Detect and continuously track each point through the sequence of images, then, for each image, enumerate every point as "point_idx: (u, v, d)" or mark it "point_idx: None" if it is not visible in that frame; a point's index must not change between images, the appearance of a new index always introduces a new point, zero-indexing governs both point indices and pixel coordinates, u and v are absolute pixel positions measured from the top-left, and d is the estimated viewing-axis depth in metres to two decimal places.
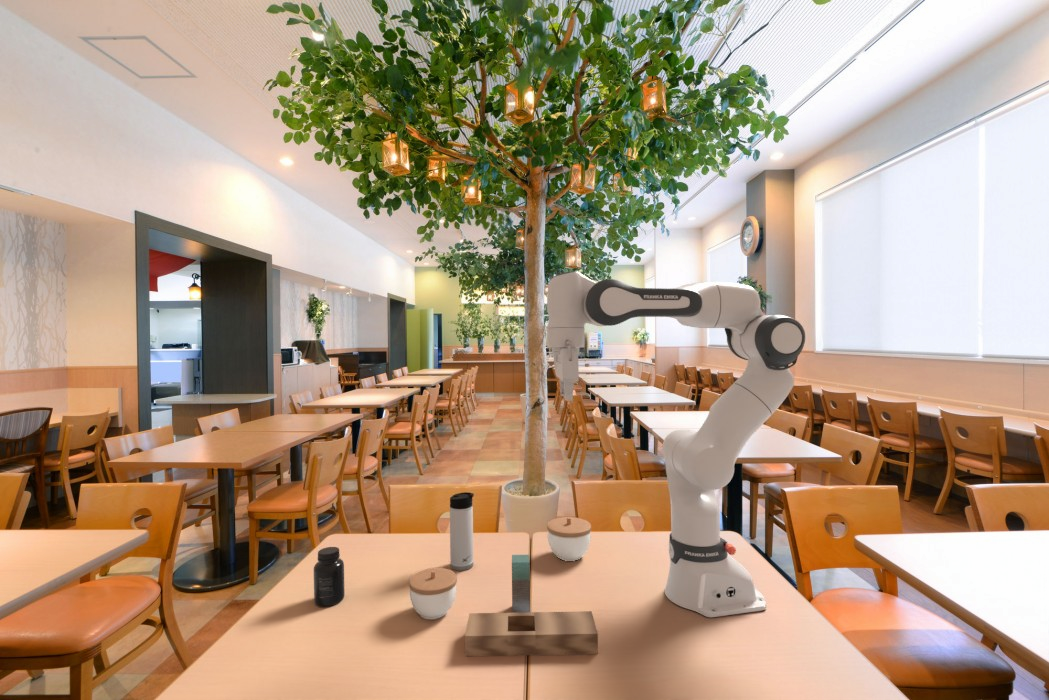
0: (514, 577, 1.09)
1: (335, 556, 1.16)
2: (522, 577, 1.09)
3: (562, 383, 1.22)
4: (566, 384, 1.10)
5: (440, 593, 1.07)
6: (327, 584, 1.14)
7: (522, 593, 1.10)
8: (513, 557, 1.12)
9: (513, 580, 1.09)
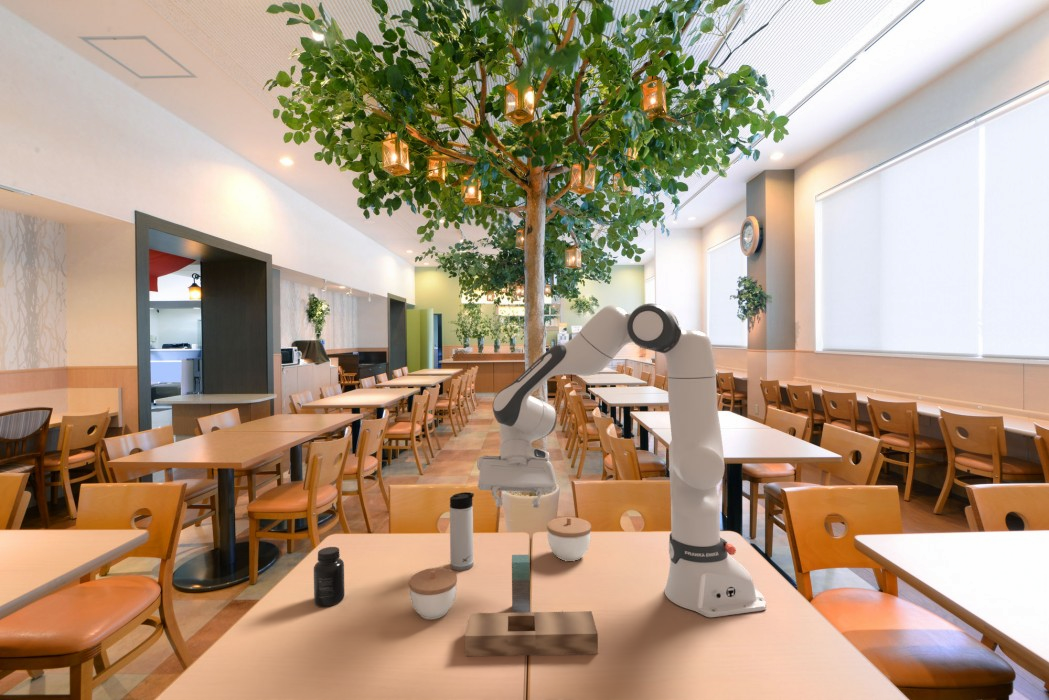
0: (514, 577, 1.09)
1: (335, 556, 1.16)
2: (522, 577, 1.09)
3: (538, 496, 1.25)
4: (491, 491, 1.24)
5: (440, 593, 1.07)
6: (327, 584, 1.14)
7: (522, 593, 1.10)
8: (513, 557, 1.12)
9: (513, 580, 1.09)
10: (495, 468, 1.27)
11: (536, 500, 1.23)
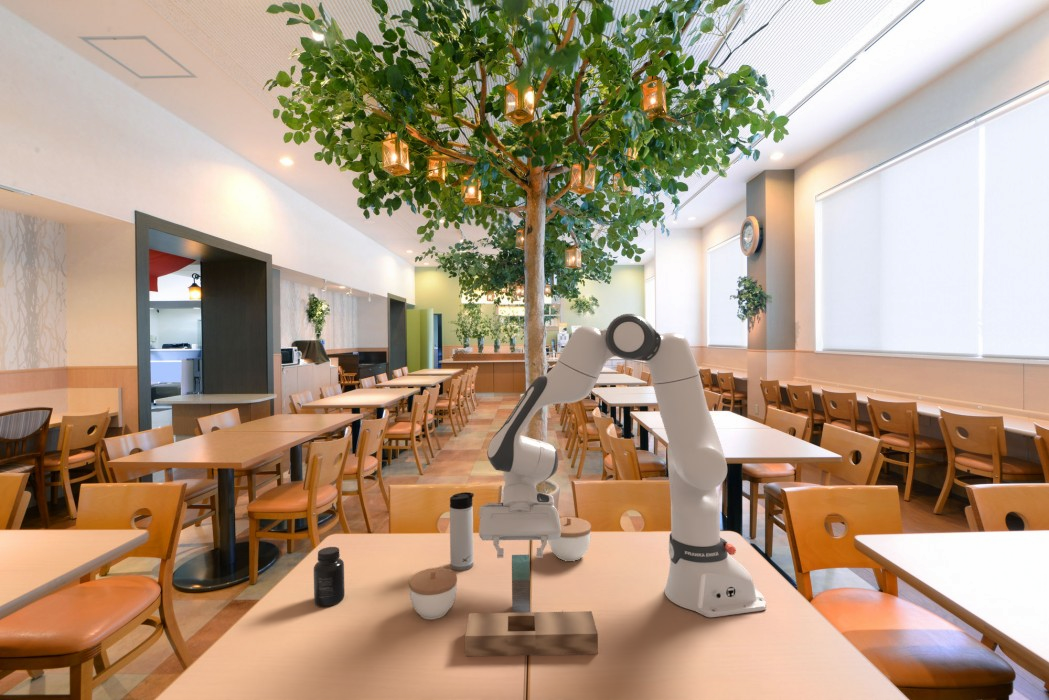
0: (514, 577, 1.09)
1: (335, 556, 1.16)
2: (522, 577, 1.09)
3: None
4: (493, 542, 1.19)
5: (440, 593, 1.07)
6: (327, 584, 1.14)
7: (522, 593, 1.10)
8: (513, 557, 1.12)
9: (513, 580, 1.09)
10: (496, 516, 1.21)
11: (539, 549, 1.16)
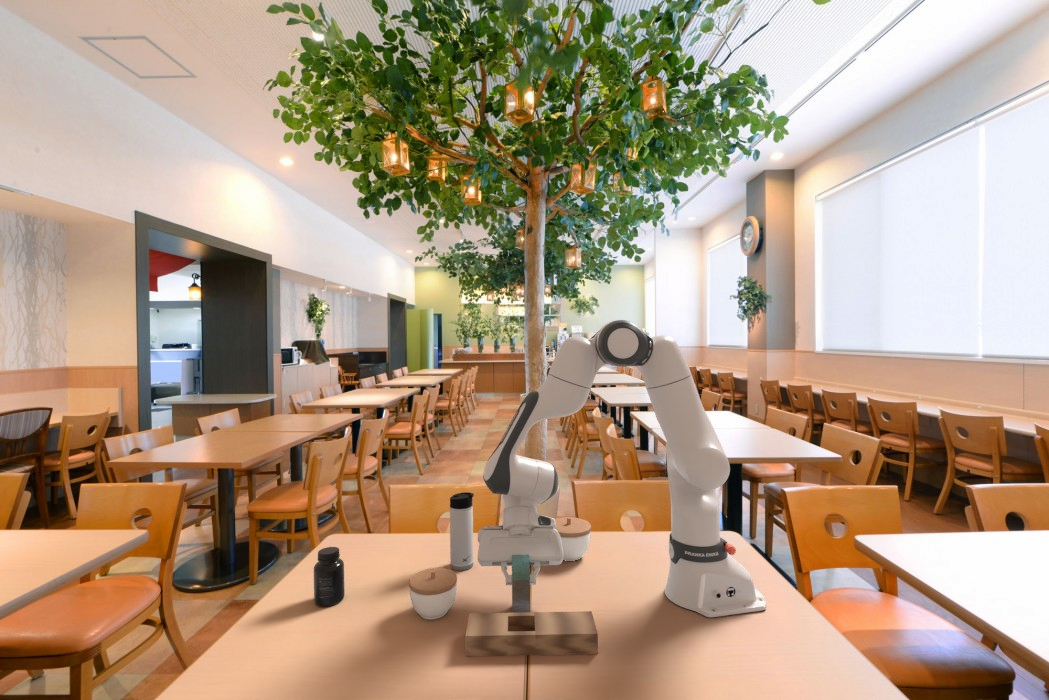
0: (514, 577, 1.09)
1: (335, 556, 1.16)
2: (522, 577, 1.09)
3: None
4: None
5: (440, 593, 1.07)
6: (327, 584, 1.14)
7: (522, 593, 1.10)
8: (513, 557, 1.12)
9: (513, 580, 1.09)
10: (496, 540, 1.16)
11: (532, 576, 1.11)
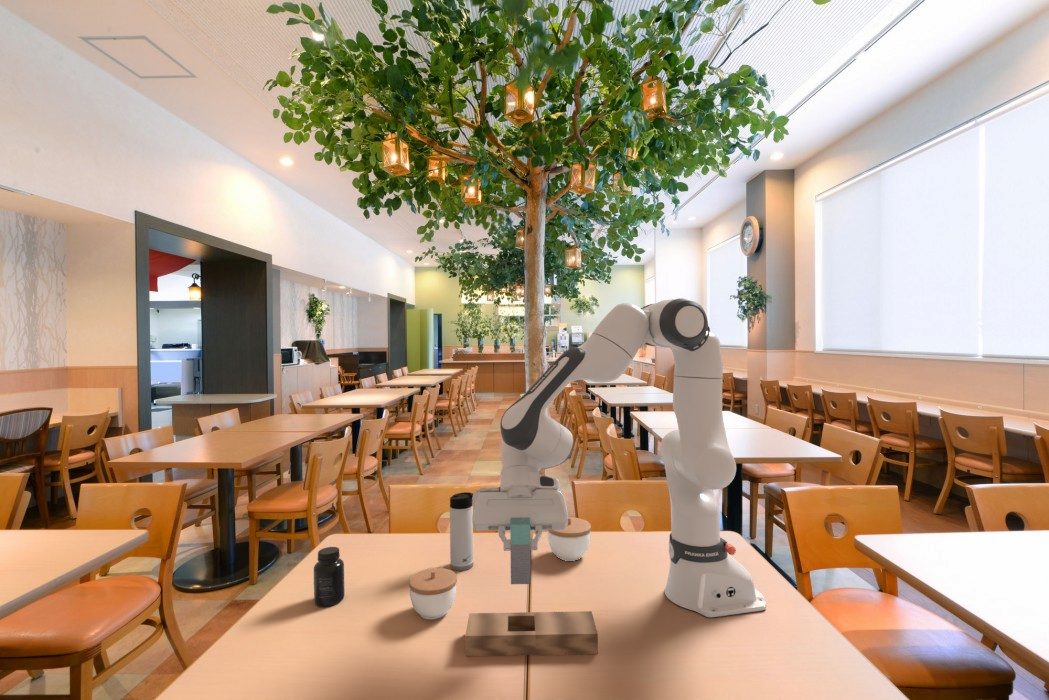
0: (513, 541, 0.97)
1: (335, 556, 1.16)
2: (522, 541, 0.97)
3: None
4: None
5: (440, 593, 1.07)
6: (327, 584, 1.14)
7: (522, 559, 0.98)
8: (512, 520, 1.00)
9: (512, 544, 0.97)
10: (493, 503, 1.04)
11: (533, 541, 0.99)
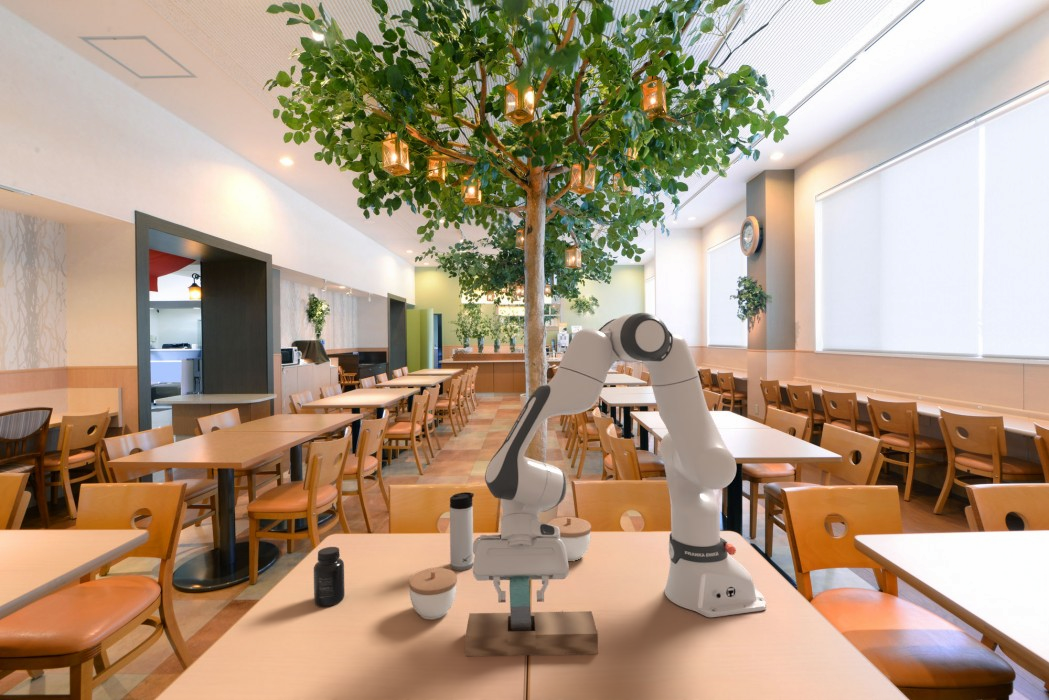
0: (513, 603, 0.97)
1: (335, 556, 1.16)
2: (522, 603, 0.97)
3: None
4: None
5: (440, 593, 1.07)
6: (327, 584, 1.14)
7: (522, 621, 0.98)
8: (511, 580, 1.00)
9: (512, 607, 0.97)
10: (493, 552, 1.04)
11: (540, 592, 0.99)
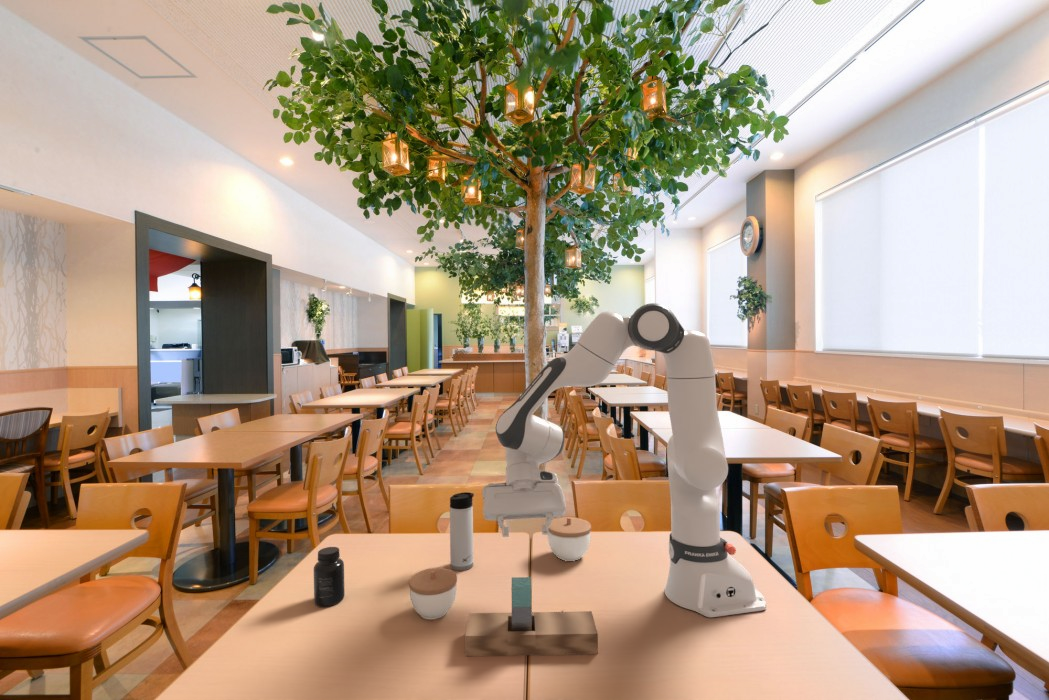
0: (514, 603, 0.97)
1: (335, 556, 1.16)
2: (523, 603, 0.97)
3: None
4: None
5: (440, 593, 1.07)
6: (327, 584, 1.14)
7: (523, 621, 0.98)
8: (513, 580, 1.00)
9: (513, 607, 0.97)
10: (500, 496, 1.20)
11: (545, 527, 1.15)
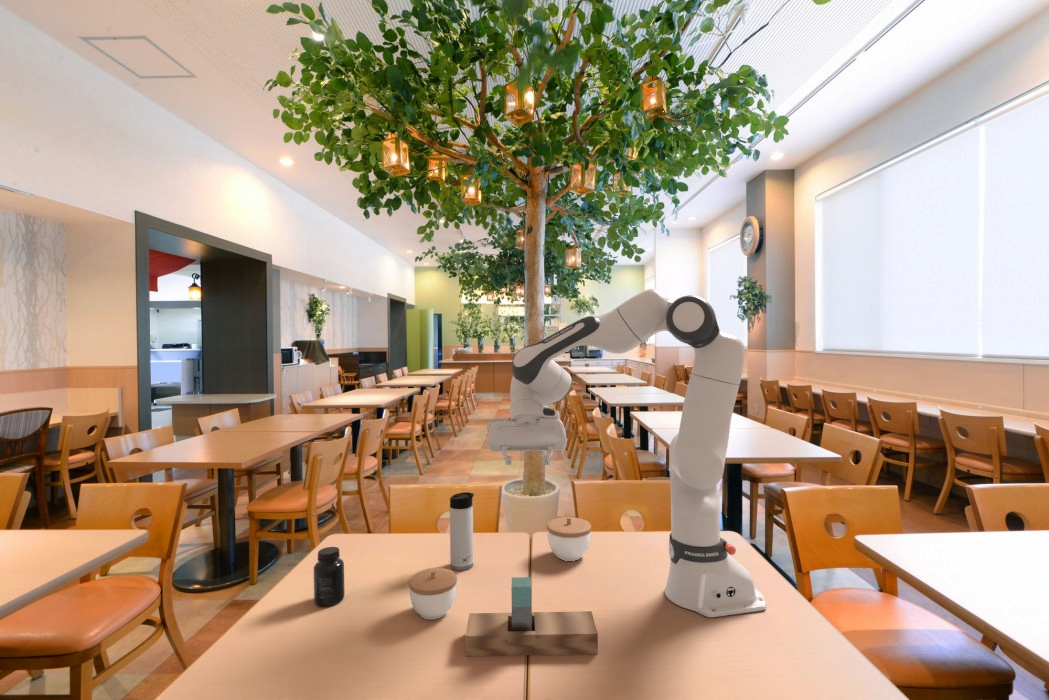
0: (514, 603, 0.97)
1: (335, 556, 1.16)
2: (523, 603, 0.97)
3: None
4: None
5: (440, 593, 1.07)
6: (327, 584, 1.14)
7: (523, 621, 0.98)
8: (513, 580, 1.00)
9: (513, 607, 0.97)
10: (504, 428, 1.26)
11: (546, 457, 1.21)
